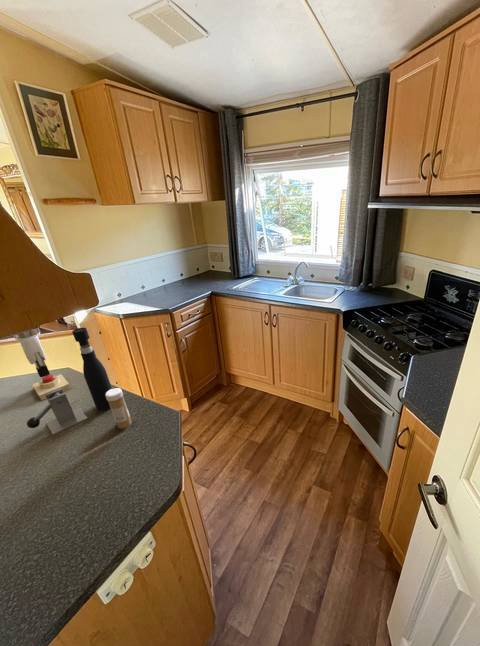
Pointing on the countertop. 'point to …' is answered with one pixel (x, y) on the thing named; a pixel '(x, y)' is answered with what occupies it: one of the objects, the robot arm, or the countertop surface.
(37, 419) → the lever handle
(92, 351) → the dark water bottle
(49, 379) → the button
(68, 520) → the countertop surface
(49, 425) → the grey lever stand
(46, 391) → the control block
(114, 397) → the sprinkles bottle
